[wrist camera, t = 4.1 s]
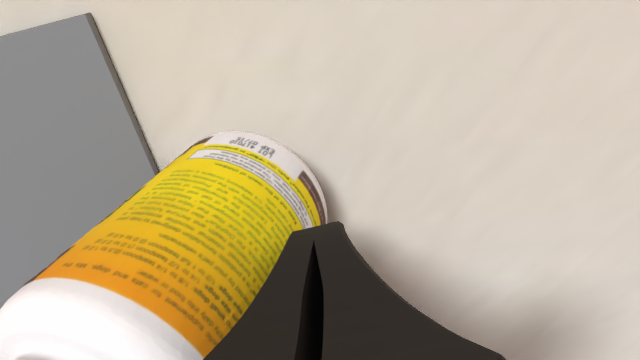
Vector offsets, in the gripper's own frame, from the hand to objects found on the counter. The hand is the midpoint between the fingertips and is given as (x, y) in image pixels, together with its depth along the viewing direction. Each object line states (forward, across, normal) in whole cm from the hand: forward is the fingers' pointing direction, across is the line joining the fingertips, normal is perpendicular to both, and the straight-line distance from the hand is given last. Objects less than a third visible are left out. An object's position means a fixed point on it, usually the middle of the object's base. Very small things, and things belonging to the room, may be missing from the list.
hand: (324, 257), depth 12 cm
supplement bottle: (+5, +2, 0) cm, 5 cm away
